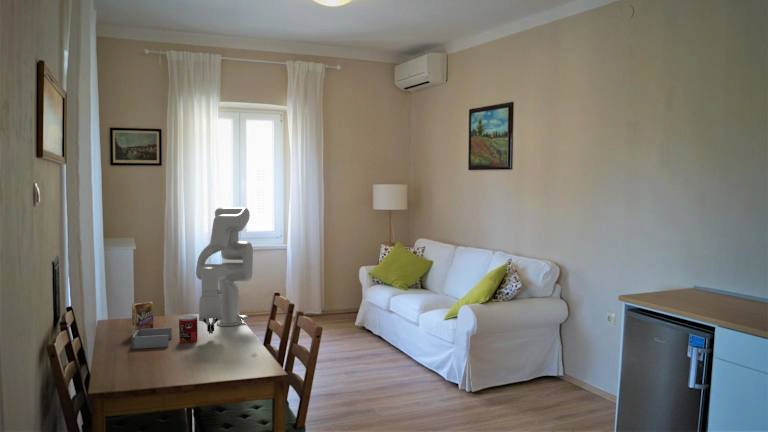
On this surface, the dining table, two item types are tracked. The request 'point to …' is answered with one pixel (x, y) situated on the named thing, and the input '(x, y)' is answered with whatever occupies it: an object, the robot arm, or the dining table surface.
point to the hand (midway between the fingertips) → (210, 332)
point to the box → (151, 338)
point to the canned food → (188, 329)
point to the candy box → (142, 316)
